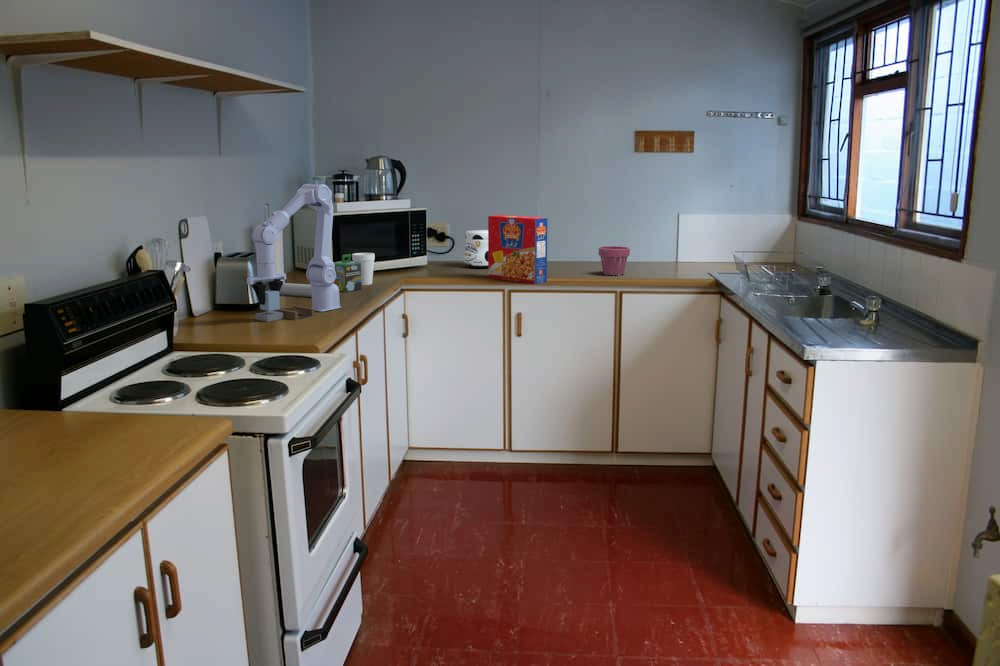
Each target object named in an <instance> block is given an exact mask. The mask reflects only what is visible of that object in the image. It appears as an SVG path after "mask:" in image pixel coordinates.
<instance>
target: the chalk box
mask: <svg viewBox="0 0 1000 666" xmlns="http://www.w3.org/2000/svg"><path fill="white" fill-rule="evenodd" d="M351 257H352V254H350V253H349V254H347V253H346V254H343V255H342V256H341V261H336V262H335V261H333V263H334V264H335V272H336V279H335V281H334V282H333V284H336V285H337V287H338V289H339V292H343V293H347V292H353V291H355V292H356V291H361V290H363V287H362V286H363V285H362V283H361V262H354V261H353V260H351V259H352V258H351ZM345 258H347V259H346V260H345Z"/></svg>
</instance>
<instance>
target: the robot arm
mask: <svg viewBox="0 0 1000 666" xmlns="http://www.w3.org/2000/svg"><path fill="white" fill-rule="evenodd" d="M332 198H333V191H332V190H331V189H330V188H329V186H328V185H326V184H324V183H321V184H313V183H311V184H310V183H304V184H303V185H301V187H299V188H298V189H297V191H296V194H295V195H294V196H293V197H292V198H291V199H290V200H289V202H288V203H287V204H286V205H285V206H284V207H283V208H282V209H281V210H276V211H274V210H273V211H272V212H271V214H270V216H269V217H268V218H267V219H266V220H265V221H263V222H261V224H262V225H258V226H255V228H254V229H253V231H252V234H251V235H250V237H251V240H252V242H254V245H255V246H254V247H255V254H256V255H255V256H256V268H257V269H256V272H257V275H255V276H252V277H247V278H246V284H247V285H250V286H251V288H252V290H253V291H254V293H255V296H256V297H257V300H258V303H259V305H260V304H262V305H265V291H266V288H267V284H264V283H268V287H269V290H274V291H279V292H280V289H281V287H282V285H283V283H284V280H287V274H286V273H283V272H282V273H276V260H275V245H274V243H276V242H277V239H278V235H279V234H280V233H281V231H282V230H284V229H285V227H287V226H288V225H289V224H290V218H291V217H292V216H293V215H294V214H295V213H297V212H298V211H299V210H300V209H301V208H302V207H303V206H305V205H309V206H310V207H312V208H313V209H314V210H315V212H316V224H315V227H316V228H315V236H314V249H313V250H314V252H313V257H312V258H311V259H310V260H309V263H308V267H307V269H306V272H305V277H306V279H307V281H308V282H309V284H310V285H311V291H312V297H311V307H310V308H313V309H314V311H315V312H321V313H324V312H327V311H332V310H337V309H341V308H342V306H341V304H340V291H339V289H338V287H337V285H336V284H333V282H334V281H335V279H336V272H335V264H334V261H332V259H331V247H332V246H331V245H332V233H333V223H334V222H333V221H334V220H333V219H334V205H333V200H332Z"/></svg>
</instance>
